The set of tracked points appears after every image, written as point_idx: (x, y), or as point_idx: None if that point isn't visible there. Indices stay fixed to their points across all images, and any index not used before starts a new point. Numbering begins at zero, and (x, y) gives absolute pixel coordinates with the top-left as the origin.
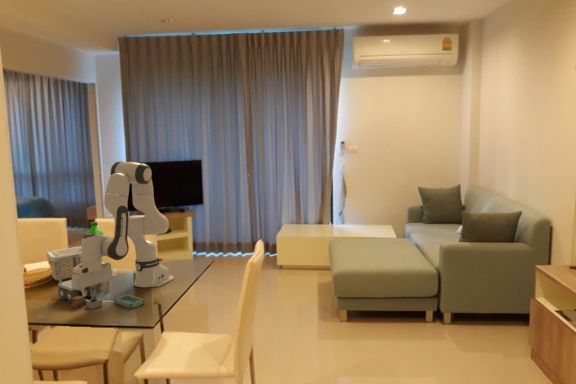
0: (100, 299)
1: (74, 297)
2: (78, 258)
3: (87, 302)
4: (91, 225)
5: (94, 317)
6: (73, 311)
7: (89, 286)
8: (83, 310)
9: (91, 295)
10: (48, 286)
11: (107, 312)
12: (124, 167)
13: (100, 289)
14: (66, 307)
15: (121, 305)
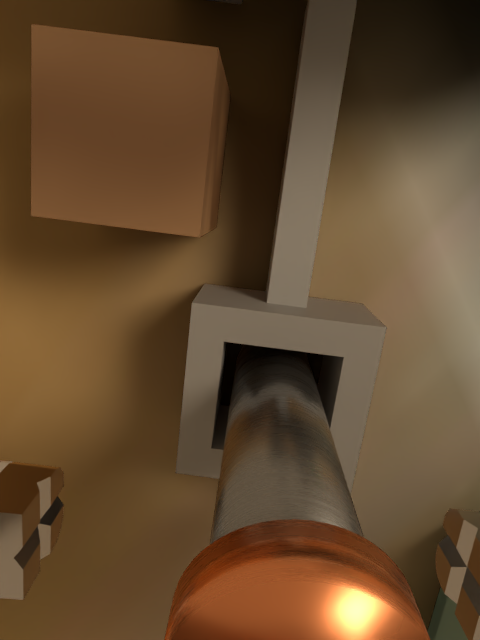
0: (353, 460)
1: (82, 62)
2: None
3: (189, 344)
4: None
5: (47, 611)
6: (5, 270)
7: (174, 606)
8: (101, 358)
9: (222, 460)
10: None
11: None
12: None
13: (466, 551)
14: (28, 28)
15: (429, 634)
